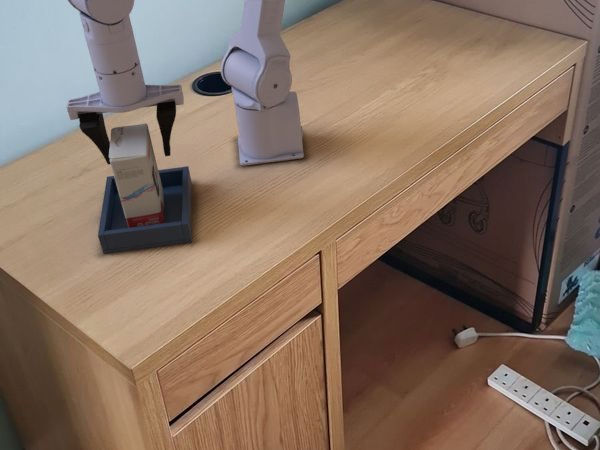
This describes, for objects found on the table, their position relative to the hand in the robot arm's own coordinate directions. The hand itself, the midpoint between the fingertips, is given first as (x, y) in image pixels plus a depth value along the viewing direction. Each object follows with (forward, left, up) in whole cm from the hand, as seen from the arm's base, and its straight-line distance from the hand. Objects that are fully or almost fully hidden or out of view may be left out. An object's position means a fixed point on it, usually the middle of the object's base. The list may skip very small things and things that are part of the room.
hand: (139, 156), depth 106 cm
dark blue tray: (0, +3, -8) cm, 9 cm away
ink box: (0, +3, -8) cm, 8 cm away
